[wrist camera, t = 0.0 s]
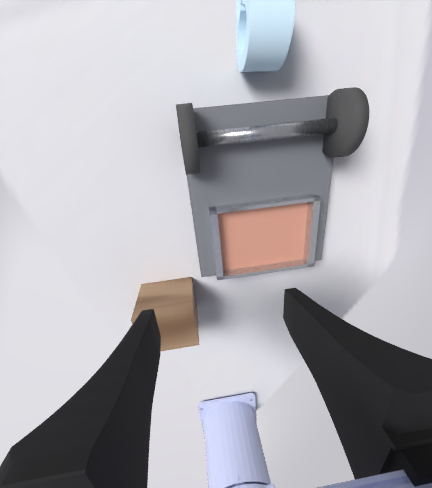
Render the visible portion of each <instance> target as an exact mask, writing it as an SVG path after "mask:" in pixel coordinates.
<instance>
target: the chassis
mask: <svg viewBox="0 0 432 488" xmlns="http://www.w3.org/2000/svg"><path fill="white" fill-rule="evenodd" d="M176 109H177V117H178V125H179V132H180V139H181V146H182V152H183V159H184V165H185V171H186V175H187V180H188V187H189V194H190V201H191V208H192V215H193V222H194V229H195V236H196V242H197V249H198V256H199V263H200V270H201V277H206V276H212V275H216V277H217V280H222V279H229V278H236V277H243V276H250V275H256V274H263V273H270V272H277V271H283V270H290V269H297V268H304V267H310V266H314V261H315V260H321V257H322V249H323V240H324V232H325V223H326V215H327V207H328V198H329V190H330V181H331V173H332V164H333V158H334V157H343V156H348V155H350V154H352V153H353V152H354V151H355V150H356V149H357V148H358V147H359V145H360V144H361V142H362V140H363V138H364V136H365V133H366V130H367V127H368V122H369V104H368V100H367V97H366V95H365V93H364V92H363V91H362V90H361V89H359V88H344V89H337V90H335V91H334V92H332V93H331V94H330V95H327V96H317V97H306V98H296V99H286V100H276V101H265V102H255V103H245V104H235V105H224V106H214V107H204V108H194V109H193V106H192V103H187V104H177V105H176Z"/></svg>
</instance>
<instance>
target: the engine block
mask: <svg viewBox="0 0 432 488" xmlns="http://www.w3.org/2000/svg"><path fill="white" fill-rule="evenodd" d="M148 309H154V312H155V316H156V320H157V324H158V327H159V331H160V335H161V348H160V351H165V350H171V349H177V348H183V347H189V346H195V345H199V334H198V319H197V306H196V300H195V294H194V288H193V282H192V277H188V278H181V279H174V280H167V281H160V282H153V283H146V284H141V288H140V291H139V295H138V298H137V301H136V305H135V308H134V312H133V315H132V318H131V321H132V324H133V323H134V322H135V320H136V319H137V317H138V315H139V314H140V312H141V311H142V310H148Z"/></svg>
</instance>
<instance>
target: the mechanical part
mask: <svg viewBox="0 0 432 488" xmlns="http://www.w3.org/2000/svg"><path fill="white" fill-rule="evenodd" d="M294 17H295V0H236V58H237V65H238V69H239V71H240V72H256V71H278V70H280V68H281V67H282V66H283V64H284V62H285V59H286V57H287V54H288V50H289V47H290V43H291V38H292V33H293V26H294Z"/></svg>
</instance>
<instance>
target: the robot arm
mask: <svg viewBox="0 0 432 488" xmlns="http://www.w3.org/2000/svg"><path fill="white" fill-rule="evenodd" d="M283 318H284V321H285V323H286V326H287V328H288V331H289V333H290V335H291V337H292V339H293V341H294V343H295V344H296V346H297V348H298V350H299V352H300V353H301V355H302V357H303V359H304V361H305V362H306V364H307V366H308V368H309V370H310V371H311V373H312V375H313V377H314V379H315V381H316V383H317V385H318V388H319V390H320V392H321V395H322V397H323V399H324V401H325V404H326V406H327V409H328V411H329V413H330V416H331V418H332V420H333V423H334V425H335V428H336V430H337V433H338V435H339V438H340V440H341V443H342V446H343V448H344V450H345V453H346V456H347V459H348V461H349V464H350V467H351V470H352V472H353V475H354V478H355V480H351V481H346V482H342V483H337V484H332V485H328V486H323V487H318V488H432V359H430V358H426V357H423V356H421V355H418V354H415V353H413V352H410V351H407V350H405V349H402V348H399V347H397V346H395V345H392V344H390V343H387V342H385V341H383V340H381V339H379V338H376V337H374V336H372V335H370V334H368V333H366V332H364V331H362V330H360V329H358V328H356V327H355V326H353V325H351V324H349V323H347V322H345V321H344V320H342V319H341V318H339V317H337V316H336V315H334V314H333V313H331V312H329V311H328V310H326V309H325V308H323V307H322V306H320V305H319V304H318V303H316V302H315V301H313V300H312V299H311V298H309V297H308V296H306V295H305V294H304V293H302V292H301V291H299V290H298V289H296V288H291V289H285V294H284V314H283ZM160 348H161V335H160V331H159V327H158V324H157V320H156V316H155V312H154V309H148V310H142V311H141V312H140V314H139V315H138V317H137V319H136V320H135V322H134V323H133V325H132V326H131V328H130V329H129V331H128V332H127V334H126V335H125V336H124V338H123V339H122V341H121V342H120V343H119V345H118V346H117V347H116V349H115V350H114V351H113V353H112V354H111V355H110V356H109V358H108V359H107V360H106V362H105V363H104V364H103V365H102V366H101V368H100V369H99V370H98V371H97V372H96V373H95V374H94V375H93V376H92V377H91V379H90V380H89V381H88V382H87V383H86V384H85V385H84V386H83V387H82V388H81V389H80V390H79V391H78V392H77V393H76V394H75V395H74V396H72V397H71V398H70V399H69V400H68V401H67V402H66V403H65V404H64V405H63V406H62V407H61V408H60V409H58V410H57V411H56V412H55V413H54V414H53V415H51V416H50V417H49V418H48V419H47V420H45V421H44V422H43V423H42V424H41V425H39V426H38V427H37V428H35V429H34V430H33V431H32V432H30V433H29V434H28V435H27V436H25V437H24V438H23V439H21V440H20V441H19V442H18V443H16V444H15V445H14V446H12V447H11V449H10V451H9V452H8V454H7V456H6V457H5V459H4V461H3V462H2V464H1V466H0V488H147V479H148V477H147V476H148V457H149V455H148V454H149V440H150V439H149V438H150V425H151V410H152V403H153V396H154V390H155V384H156V378H157V372H158V365H159V359H160ZM198 409H199V414H200V418H201V423H202V428H203V432H204V437H205V444H206V460H207V476H208V488H275V486H274V484H271V482H270V478H269V474H268V470H267V466H266V462H265V457H264V453H263V450H262V445H261V441H260V437H259V433H258V429H257V425H256V397H255V394H254V393H247V394H242V395H236V396H231V397H225V398H220V399H214V400H209V401H203V402H200V403H198Z"/></svg>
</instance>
